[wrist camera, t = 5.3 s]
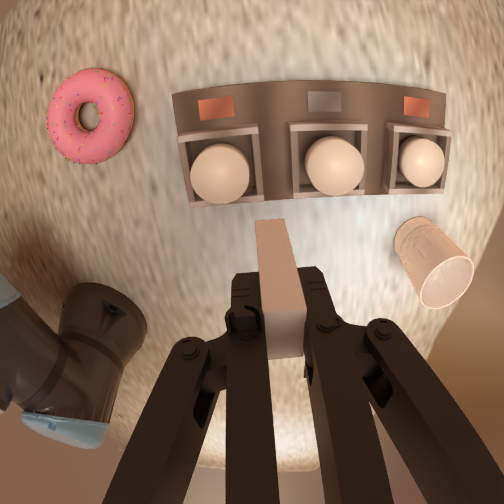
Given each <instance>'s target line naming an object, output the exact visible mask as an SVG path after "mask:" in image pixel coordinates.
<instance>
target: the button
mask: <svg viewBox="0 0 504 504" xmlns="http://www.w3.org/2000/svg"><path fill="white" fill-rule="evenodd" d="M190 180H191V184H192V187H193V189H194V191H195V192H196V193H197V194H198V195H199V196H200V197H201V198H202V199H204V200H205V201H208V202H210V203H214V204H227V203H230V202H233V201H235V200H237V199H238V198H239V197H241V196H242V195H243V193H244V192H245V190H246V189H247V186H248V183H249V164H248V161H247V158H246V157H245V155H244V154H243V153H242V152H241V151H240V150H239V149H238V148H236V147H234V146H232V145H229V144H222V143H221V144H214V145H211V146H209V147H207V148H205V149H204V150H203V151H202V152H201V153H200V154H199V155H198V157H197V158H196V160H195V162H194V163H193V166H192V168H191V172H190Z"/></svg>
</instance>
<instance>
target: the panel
mask: <svg viewBox="0 0 504 504" xmlns="http://www.w3.org/2000/svg"><path fill="white" fill-rule="evenodd" d="M172 100H173V107H174V113H175V119H176V125H177V132H178V136H177V140H178V145H179V151H180V157H181V162H182V168H183V173H184V178H185V184H186V189H187V194H188V199H189V204H190V208H194V207H204V206H213V205H224V204H214V203H210V202H208V201H205V200H204V199H202V198H201V197H200V196H199V195H198V194H197V193H196V192H195V191H194V189H193V187H192V184H191V180H190V172H191V168H192V166H193V163H194V162H195V160H196V158H197V157H198V155H199V154H200V153H201V152H202V151H203V150H204V149H205V148H207V147H209V146H211V145H214V144H221V143H222V144H229V145H232V146H234V147H236V148H238V149H239V150H240V151H241V152H242V153H243V154H244V155H245V157H246V158H247V161H248V164H249V183H248V186H247V189H246V190H245V192H244V193H243V195H242V196H241V197H239V198H238V199H237V200H235V201H233V202H230V203H227V204H234V203H246V202H257V201H269V200H282V199H298V198H315V197H333V196H331V195H326V194H324V193H322V192H320V191H319V190H317V189H316V188H315V186H314V185H313V184H312V182H311V180H310V178H309V176H308V174H307V172H306V169H305V156H306V153H307V151H308V149H309V148H310V146H311V145H312V144H313V143H314V142H316V141H317V140H319V139H321V138H324V137H328V136H335V137H339V138H342V139H344V140H346V141H347V142H349V143H350V144H351V145H352V146H354V147H355V148H356V149H357V150H358V151H359V153H360V154H361V156H362V158H363V162H364V173H363V176H362V179H361V181H360V182H359V184H358V185H357V186H356V187H355V188H354V189H353V190H352V191H350V192H348V193H346V194H344V195H339V196H356V195H382V194H443V192H444V187H445V181H446V174H447V168H448V160H449V152H450V143H451V133H452V131H450V130H447V129H445V128H444V125H445V107H446V94H445V93H441V92H437V91H432V90H427V89H421V88H414V87H407V86H399V85H391V84H381V83H369V82H355V81H330V80H297V81H272V82H257V83H245V84H235V85H226V86H218V87H210V88H203V89H197V90H191V91H185V92H179V93H176V94H172ZM412 136H422V137H424V138H426V139H428V140H430V141H432V142H434V143H436V144H437V145H438V146H439V147H440V148H441V150H442V152H443V154H444V159H445V164H444V169H443V172H442V175H441V176H440V178H439V179H438V180H437V181H436V182H435V183H434V184H432V185H431V186H428V187H417V186H415V185H414V184H412V183H411V182H410V181H409V180H407V179H406V178H405V177H404V176H403V175H402V174H401V173H400V171H399V169H398V167H397V159H398V150H399V147H400V146H401V144H402V143H403V142H404V141H405V140H406V139H408V138H410V137H412Z"/></svg>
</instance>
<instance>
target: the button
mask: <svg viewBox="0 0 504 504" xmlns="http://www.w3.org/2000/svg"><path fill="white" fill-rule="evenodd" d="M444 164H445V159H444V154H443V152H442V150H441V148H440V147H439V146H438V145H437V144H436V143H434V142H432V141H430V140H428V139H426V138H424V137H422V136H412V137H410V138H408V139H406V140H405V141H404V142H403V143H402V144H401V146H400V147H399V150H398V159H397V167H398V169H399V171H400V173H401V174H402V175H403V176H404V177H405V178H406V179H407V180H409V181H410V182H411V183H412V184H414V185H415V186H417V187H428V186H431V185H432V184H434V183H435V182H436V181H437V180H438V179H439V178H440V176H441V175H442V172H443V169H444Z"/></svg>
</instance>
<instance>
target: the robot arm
mask: <svg viewBox="0 0 504 504" xmlns="http://www.w3.org/2000/svg"><path fill="white" fill-rule="evenodd" d="M255 230H256V242H257V255H258V268H259V272H249V273H237V274H236V275H235V277H234V278H233V280H232V286H231V308H230V309H229V310H228V311H227V312H226V315H225V322H226V327H227V331H226V332H225V333H224V334H223V335H222V336H220V337H218V338H216V339H213V340H210V341H207V342H205V341H204V340H202V339H200V338H198V337H187V338H183V339H181V340H180V341H178V342H177V343H176V344H175V345H174V346H173V348H172V350H171V352H170V354H169V356H168V358H167V360H166V362H165V364H164V366H163V369H162V371H161V373H160V375H159V377H158V379H157V381H156V383H155V385H154V388H153V390H152V392H151V394H150V396H149V398H148V400H147V403H146V405H145V407H144V409H143V411H142V413H141V416H140V418H139V420H138V422H137V424H136V427H135V429H134V431H133V433H132V435H131V438H130V440H129V442H128V444H127V447H126V449H125V451H124V453H123V456H122V458H121V460H120V463H119V465H118V467H117V470H116V472H115V474H114V476H113V479H112V481H111V483H110V486H109V488H108V491H107V493H106V495H105V498H104V500H103V503H102V504H183V501H184V498H185V495H186V492H187V489H188V487H189V484H190V481H191V478H192V474H193V472H194V469H195V466H196V463H197V460H198V457H199V454H200V451H201V448H202V445H203V442H204V439H205V436H206V433H207V430H208V426H209V423H210V420H211V417H212V414H213V411H214V408H215V405H216V402H217V399H218V396H219V393H220V391H222V390H225V389H226V504H280V501H279V488H278V476H277V475H278V474H277V462H276V450H275V438H274V426H273V414H272V402H271V390H270V379H269V367H268V360H270V359H282V358H292V357H301V356H303V352H304V355H305V368H304V378H307V384H308V390H309V396H310V402H311V408H312V414H313V421H314V427H315V434H316V440H317V447H318V454H319V460H320V467H321V474H322V482H323V489H324V497H325V504H394V502H393V498H392V493H391V488H390V484H389V479H388V475H387V470H386V466H385V462H384V457H383V453H382V449H381V446H380V441H379V438H378V433H377V429H376V426H375V422H374V418H373V414H372V411H371V407H370V404H371V405H372V407H373V409H374V410H375V412H376V414H377V416H378V417H379V419H380V421H381V422H382V424H383V426H384V427H385V429H386V431H387V433H388V434H389V436H390V438H391V439H392V441H393V443H394V445H395V447H396V448H397V450H398V452H399V453H400V455H401V457H402V459H403V461H404V462H405V464H406V466H407V467H408V469H409V471H410V473H411V474H412V476H413V478H414V480H415V482H416V484H417V485H418V487H419V489H420V491H421V493H422V494H423V496H424V498H425V500H426V502H427V503H428V504H504V475H503V474H502V472H501V470H500V469H499V467H498V465H497V463H496V462H495V460H494V459H493V457H492V455H491V454H490V452H489V451H488V449H487V447H486V446H485V444H484V443H483V441H482V440H481V438H480V437H479V435H478V434H477V432H476V431H475V429H474V428H473V426H472V425H471V423H470V422H469V420H468V419H467V417H466V416H465V414H464V413H463V412H462V410H461V409H460V407H459V406H458V404H457V403H456V402H455V401H454V399H453V397H452V396H451V395H450V393H449V392H448V390H447V389H446V388H445V386H444V385H443V384H442V382H441V381H440V380H439V378H438V377H437V376H436V374H435V373H434V372H433V370H432V369H431V368H430V366H429V365H428V364H427V362H426V361H425V360H424V358H423V357H422V356H421V354H420V353H419V352H418V351H417V349H416V348H415V347H414V345H413V344H412V343H411V342H410V340H409V339H408V338H407V337H406V335H405V334H404V333H403V332H402V330H401V329H400V328H399V327H398V325H396V324H395V323H394V322H393V321H391V320H388V319H384V318H378V319H374V320H372V321H371V322H369V324H368V325H367V326H359V325H353V324H349V323H347V322H345V321H343V319H342V318H341V317H340V316H339V315H337V313H336V311H335V308H334V305H333V302H332V299H331V296H330V293H329V290H328V287H327V284H326V282H325V278H324V276H323V273H322V272H321V271H320V270H319V269H318V268H317V267H316V266H312V267H301V268H297V267H296V263H295V259H294V255H293V251H292V247H291V244H290V240H289V236H288V232H287V228H286V225H285V221H284V219H272V220H259V221H255ZM146 331H147V326H146V322H145V319H144V317H143V315H142V313H141V312H140V310H139V309H138V308H137V307H136V306H135V305H134V304H133V303H132V302H131V301H130V300H129V299H128V298H126V297H125V296H124V295H122V294H121V293H119V292H117V291H115V290H113V289H111V288H109V287H106V286H103V285H99V284H93V283H84V284H79V285H77V286H75V287H73V288H72V289H71V290H70V291H69V293H68V295H67V296H66V298H65V300H64V302H63V305H62V315H61V318H60V324H59V331H58V335H57V334H56V333H55V332H54V331H53V330H52V329H51V328H50V327H49V326H48V325H47V324H46V323H45V322H44V321H43V320H42V319H41V318H40V317H39V316H38V315H37V314H36V313H35V311H34V310H33V309H32V308H31V307H30V306H29V305H28V303H27V302H26V301H25V300H24V299H23V298H22V296H21V293H20V292H19V291H17V290H16V289H15V288H14V287H13V286H12V285H11V284H10V282H9V281H8V280H7V279H6V278H5V277H4V276H3V275H2V274H1V273H0V413H4V412H5V411H6V409H7V407H8V406H9V404H10V402H11V401H13V402H14V403H16V404H17V405H19V406H20V407H21V408H22V409H23V410H24V411H23V412H22V413H21V415H22V422H23V423H24V424H26V425H27V426H28V427H29V428H31V429H33V430H34V431H36V432H39V433H40V434H42V435H45V436H47V437H49V438H51V439H54V440H57V441H59V442H62V443H65V444H69V445H72V446H76V447H80V448H86V449H95V448H98V447H100V446H101V445H102V443H103V441H104V438H105V435H106V432H107V428H108V427H109V426H110V424H109V423H110V419H111V415H112V411H113V407H114V403H115V399H116V395H117V391H118V387H119V384H120V380H121V377H122V373H123V370H124V367H125V366H126V365H127V364H128V362H129V361H130V360H131V358H132V357H133V356H134V354H135V353H136V352H137V351H138V350H139V349H140V347H141V346H142V344H143V341H144V338H145V335H146ZM369 402H370V404H369Z"/></svg>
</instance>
